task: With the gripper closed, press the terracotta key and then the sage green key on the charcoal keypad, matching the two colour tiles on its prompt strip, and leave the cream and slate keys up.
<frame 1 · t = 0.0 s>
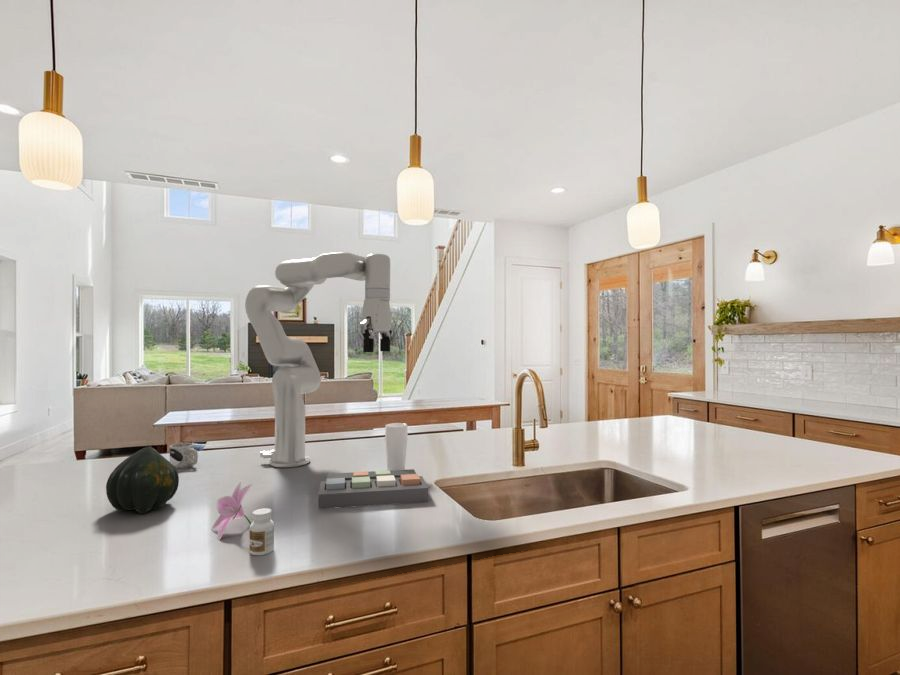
hand: (377, 351, 144), 37 cm above the countertop, tool pointing down, fingers open, 9 cm apart
cream key: (385, 482, 124), point 4 cm above the countertop, slide at 0.0 cm
drinking glass: (396, 474, 145), on the countertop
sage key: (360, 484, 123), point 4 cm above the countertop, slide at 0.0 cm
squash: (142, 508, 115), on the countertop
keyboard: (372, 494, 125), on the countertop
pill bottle: (261, 552, 92), on the countertop
mug: (185, 466, 151), on the countertop
lily: (231, 530, 102), on the countertop
terracotta key: (410, 481, 126), point 4 cm above the countertop, slide at 0.0 cm
slate key: (335, 485, 121), point 4 cm above the countertop, slide at 0.0 cm
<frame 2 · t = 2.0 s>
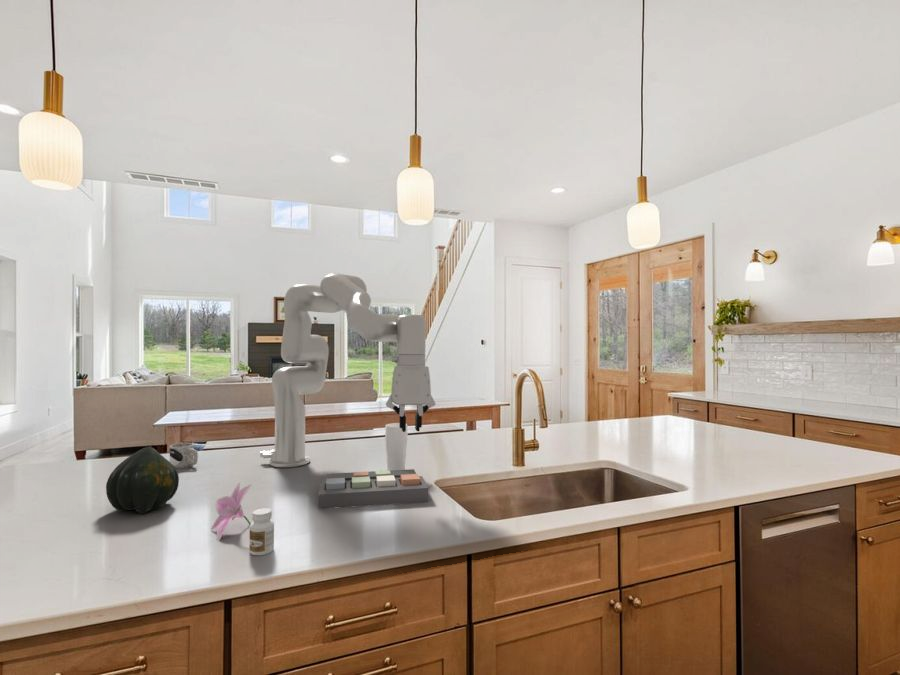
hand: (410, 429, 126), 17 cm above the countertop, tool pointing down, fingers open, 3 cm apart
nothing on the countertop moved.
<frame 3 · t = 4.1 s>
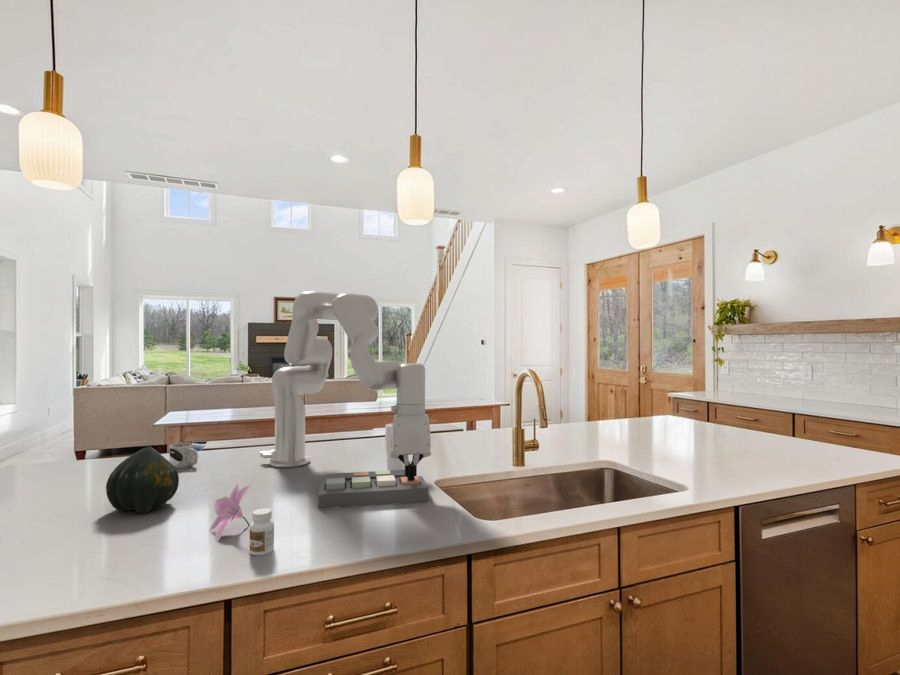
hand: (410, 479, 125), 4 cm above the countertop, tool pointing down, fingers closed
terracotta key: (410, 483, 126), point 3 cm above the countertop, slide at 0.6 cm, touching gripper
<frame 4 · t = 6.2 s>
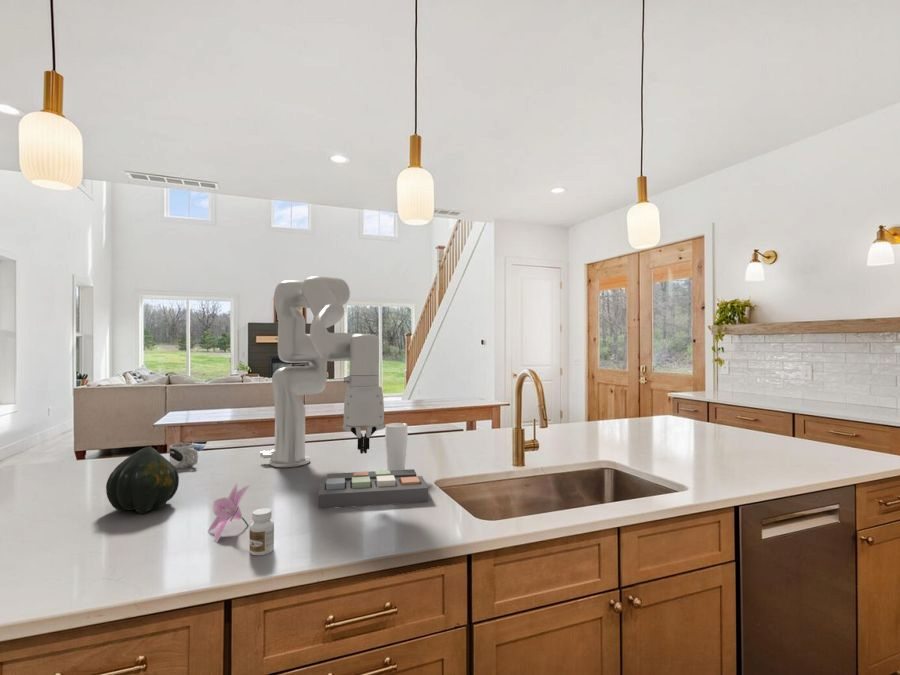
hand: (363, 452, 123), 12 cm above the countertop, tool pointing down, fingers closed
terracotta key: (410, 484, 126), point 3 cm above the countertop, slide at 0.7 cm
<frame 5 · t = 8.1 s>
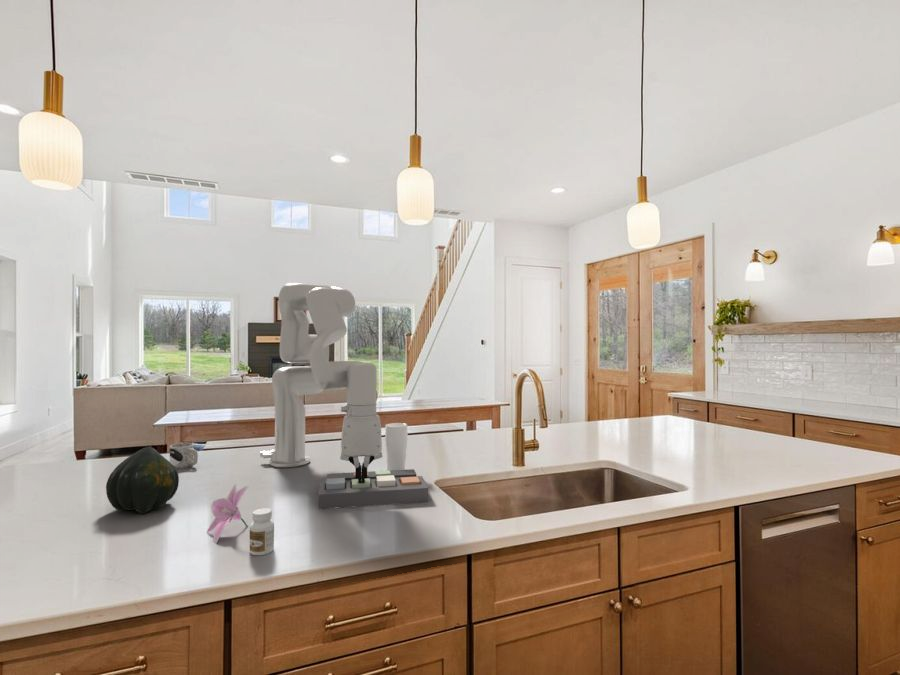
hand: (361, 481, 123), 4 cm above the countertop, tool pointing down, fingers closed
sage key: (360, 486, 123), point 3 cm above the countertop, slide at 0.5 cm, touching gripper
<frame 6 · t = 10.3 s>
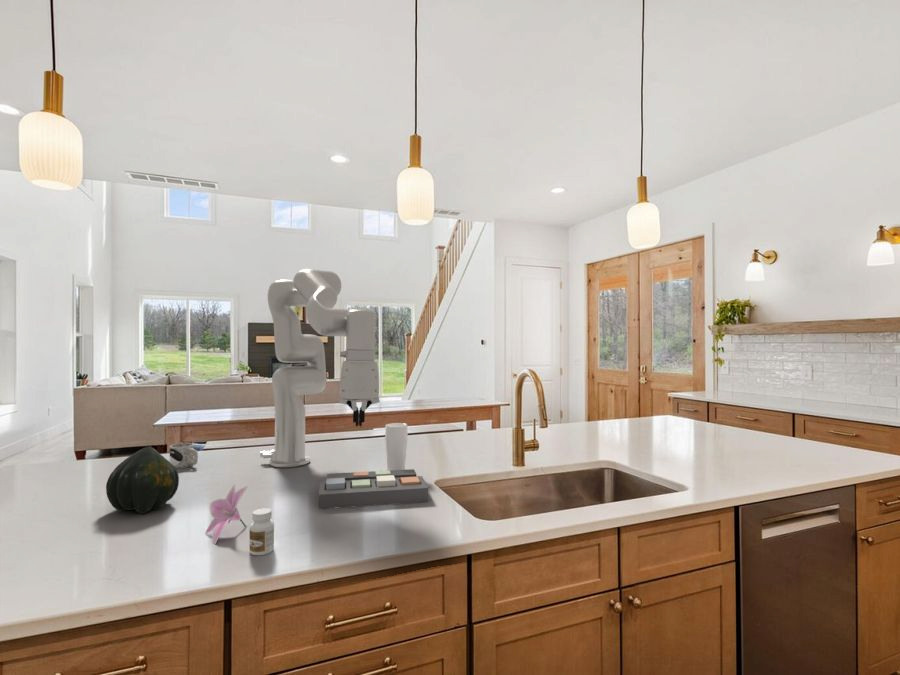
hand: (358, 425, 126), 18 cm above the countertop, tool pointing down, fingers closed
sage key: (360, 487, 123), point 3 cm above the countertop, slide at 0.8 cm
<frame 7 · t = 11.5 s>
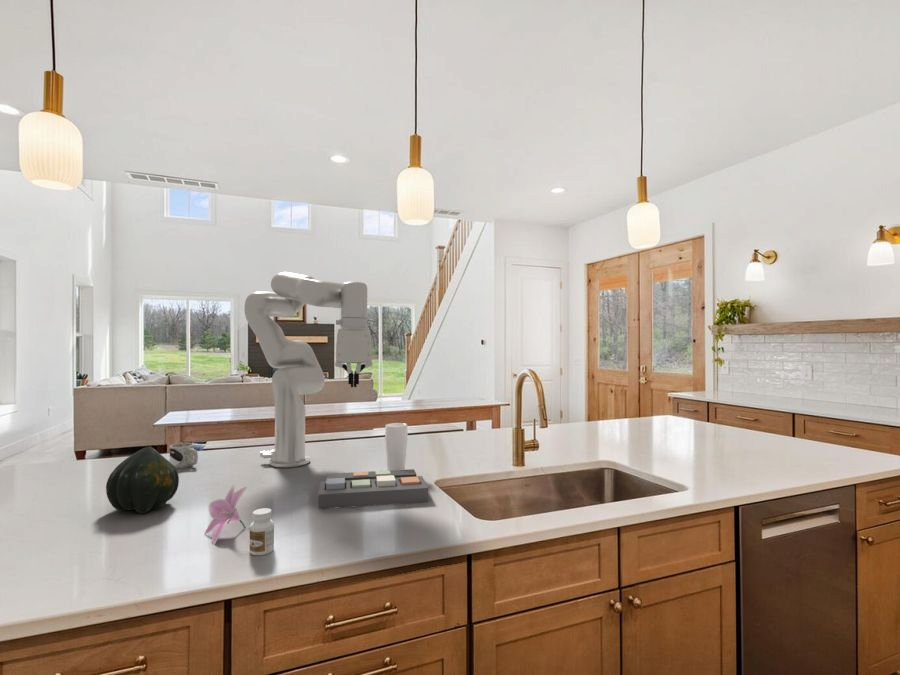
hand: (353, 386, 139), 27 cm above the countertop, tool pointing down, fingers closed
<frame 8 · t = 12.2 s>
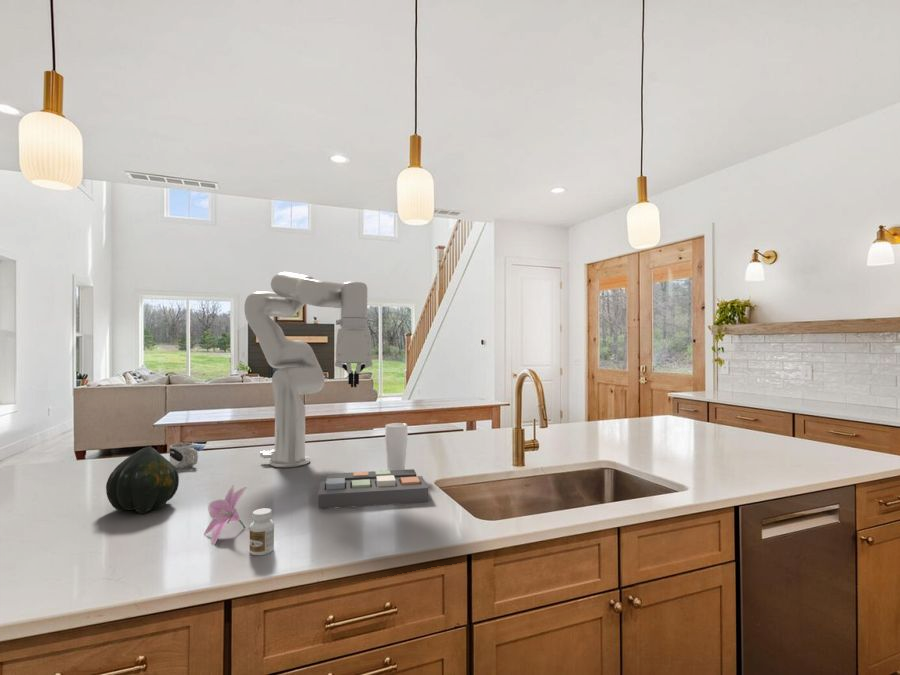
hand: (353, 386, 139), 27 cm above the countertop, tool pointing down, fingers closed
at the end: terracotta key slide at 0.7 cm; sage key slide at 0.8 cm; cream key slide at 0.0 cm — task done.
